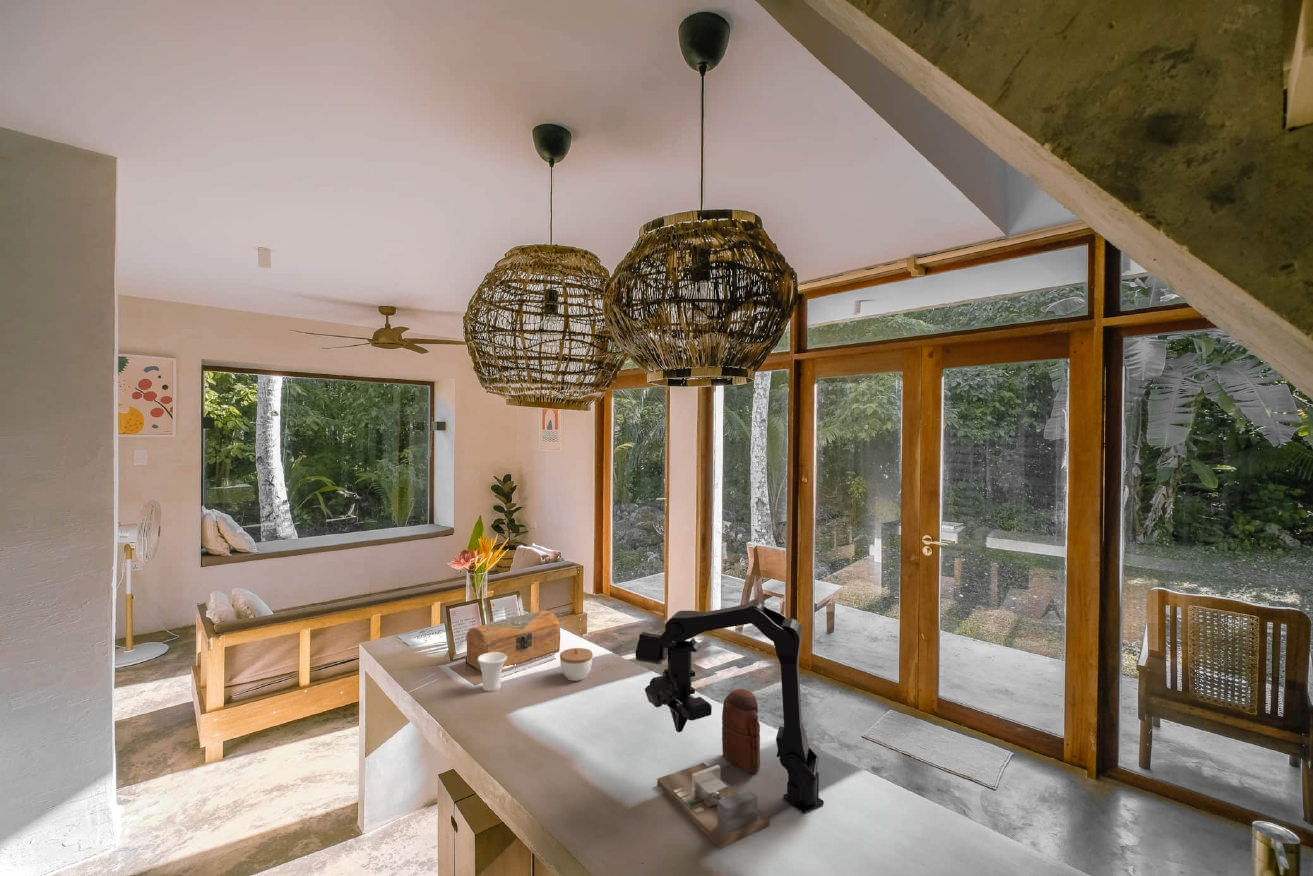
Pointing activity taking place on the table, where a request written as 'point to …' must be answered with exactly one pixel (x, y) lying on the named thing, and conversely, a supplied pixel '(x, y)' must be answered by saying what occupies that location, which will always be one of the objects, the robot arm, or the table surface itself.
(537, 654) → the wooden box
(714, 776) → the gauge carriage
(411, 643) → the table surface
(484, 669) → the cup
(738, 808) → the gauge base
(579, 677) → the lidded jar
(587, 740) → the table surface
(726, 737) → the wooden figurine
